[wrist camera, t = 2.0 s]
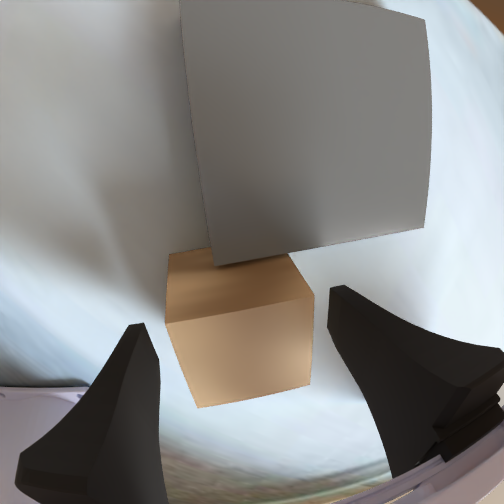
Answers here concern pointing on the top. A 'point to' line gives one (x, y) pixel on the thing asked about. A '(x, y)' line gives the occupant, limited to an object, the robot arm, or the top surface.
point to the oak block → (239, 326)
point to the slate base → (306, 122)
